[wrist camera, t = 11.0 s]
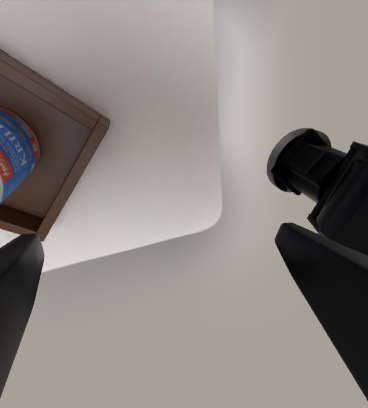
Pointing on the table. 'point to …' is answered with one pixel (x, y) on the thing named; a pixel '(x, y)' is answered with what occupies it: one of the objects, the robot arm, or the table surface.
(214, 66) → the table surface
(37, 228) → the tray
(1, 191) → the pill bottle
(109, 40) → the table surface
